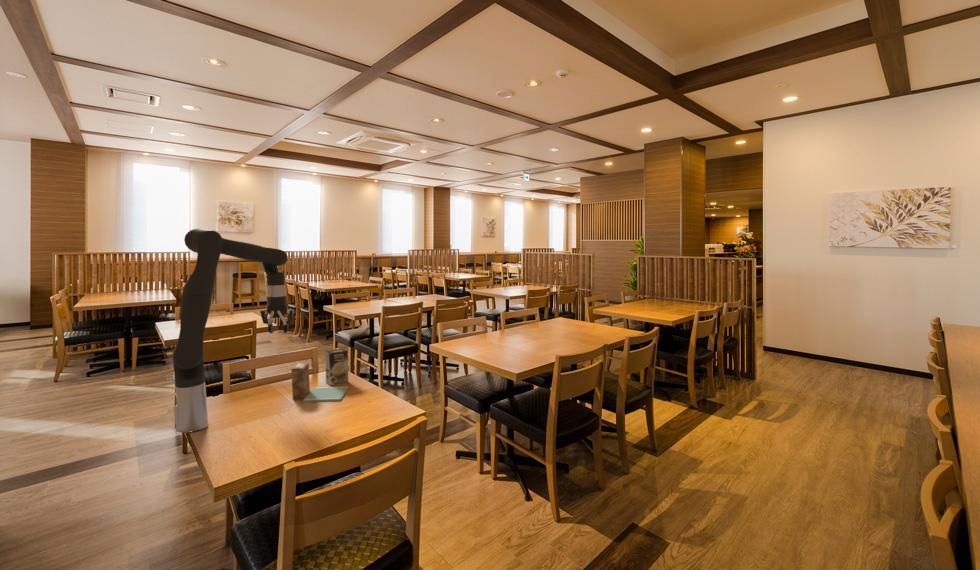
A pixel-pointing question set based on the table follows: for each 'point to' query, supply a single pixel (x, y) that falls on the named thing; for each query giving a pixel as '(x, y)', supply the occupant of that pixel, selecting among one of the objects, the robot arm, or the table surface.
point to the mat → (325, 394)
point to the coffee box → (336, 366)
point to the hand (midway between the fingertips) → (278, 332)
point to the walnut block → (300, 380)
